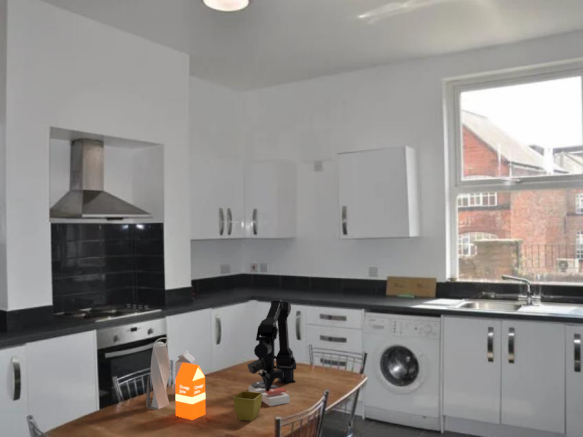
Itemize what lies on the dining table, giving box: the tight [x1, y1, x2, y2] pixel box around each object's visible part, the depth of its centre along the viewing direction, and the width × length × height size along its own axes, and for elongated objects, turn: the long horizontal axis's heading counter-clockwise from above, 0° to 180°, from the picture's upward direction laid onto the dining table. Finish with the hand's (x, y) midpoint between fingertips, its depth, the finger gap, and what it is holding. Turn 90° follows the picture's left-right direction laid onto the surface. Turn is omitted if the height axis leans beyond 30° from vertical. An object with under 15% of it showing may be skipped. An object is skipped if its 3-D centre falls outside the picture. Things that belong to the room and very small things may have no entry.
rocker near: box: [251, 379, 264, 388], centre depth 235 cm, size 8×4×1 cm, turn 118°
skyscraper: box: [145, 337, 170, 411], centre depth 219 cm, size 8×8×28 cm
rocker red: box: [265, 387, 287, 395], centre depth 223 cm, size 8×4×1 cm, turn 118°
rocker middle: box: [258, 384, 280, 389], centre depth 229 cm, size 8×4×1 cm, turn 118°
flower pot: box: [232, 390, 263, 422], centre depth 203 cm, size 9×9×9 cm
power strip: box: [248, 384, 290, 407], centre depth 231 cm, size 9×28×3 cm, turn 28°
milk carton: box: [174, 349, 197, 390], centre depth 235 cm, size 7×7×19 cm
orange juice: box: [175, 363, 207, 421], centre depth 208 cm, size 8×9×20 cm
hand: (267, 391), depth 221 cm, fingers closed, pressing on rocker red
